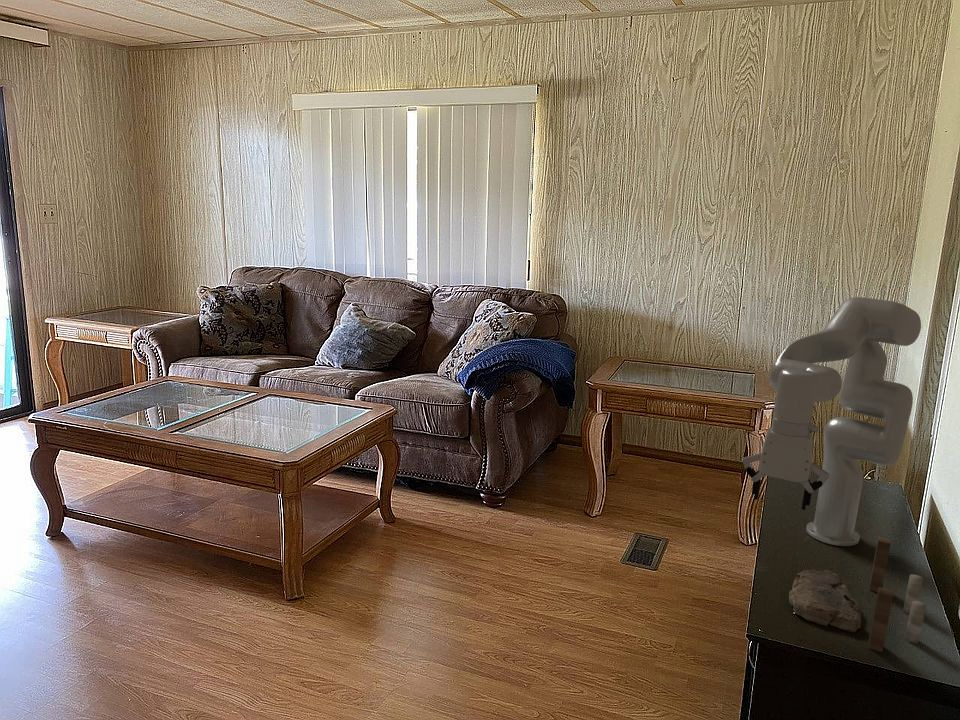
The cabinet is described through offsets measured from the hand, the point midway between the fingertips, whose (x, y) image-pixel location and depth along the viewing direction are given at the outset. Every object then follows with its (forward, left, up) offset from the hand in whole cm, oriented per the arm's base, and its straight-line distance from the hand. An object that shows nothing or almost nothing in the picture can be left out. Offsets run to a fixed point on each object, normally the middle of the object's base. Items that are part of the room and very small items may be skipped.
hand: (779, 502), depth 161 cm
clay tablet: (-1, +12, -21) cm, 24 cm away
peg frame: (-1, +25, -21) cm, 32 cm away
